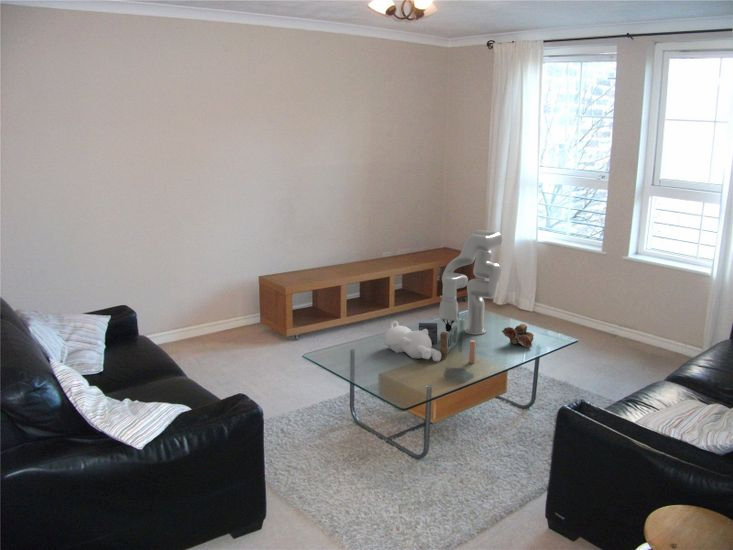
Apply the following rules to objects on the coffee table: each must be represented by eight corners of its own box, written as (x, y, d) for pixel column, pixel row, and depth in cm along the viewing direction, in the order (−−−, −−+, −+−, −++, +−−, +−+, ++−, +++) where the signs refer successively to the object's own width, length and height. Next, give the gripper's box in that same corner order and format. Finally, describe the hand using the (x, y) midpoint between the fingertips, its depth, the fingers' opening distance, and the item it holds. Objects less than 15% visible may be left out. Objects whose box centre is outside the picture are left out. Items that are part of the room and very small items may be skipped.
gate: (446, 355, 352) (447, 335, 349) (442, 354, 353) (443, 335, 350) (457, 344, 368) (457, 325, 365) (453, 343, 368) (454, 324, 366)
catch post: (470, 361, 346) (471, 339, 343) (474, 362, 345) (475, 340, 342) (469, 363, 344) (469, 341, 341) (473, 363, 343) (474, 342, 340)
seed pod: (495, 328, 374) (511, 328, 358) (520, 317, 380) (537, 317, 364) (503, 352, 374) (519, 353, 359) (528, 341, 380) (545, 342, 365)
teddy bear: (417, 368, 335) (372, 343, 360) (438, 372, 348) (393, 348, 373) (431, 333, 334) (384, 311, 359) (451, 339, 347) (405, 316, 372)
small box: (437, 340, 377) (437, 322, 374) (437, 344, 371) (437, 326, 368) (418, 339, 378) (418, 322, 375) (418, 343, 372) (418, 326, 369)
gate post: (441, 356, 353) (442, 331, 349) (446, 357, 352) (447, 332, 348) (439, 358, 350) (440, 333, 347) (445, 359, 349) (445, 334, 345)
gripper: (434, 299, 359) (433, 331, 364) (460, 302, 352) (459, 335, 357) (438, 295, 365) (438, 326, 370) (464, 298, 359) (463, 330, 364)
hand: (448, 330), depth 364 cm, fingers closed
